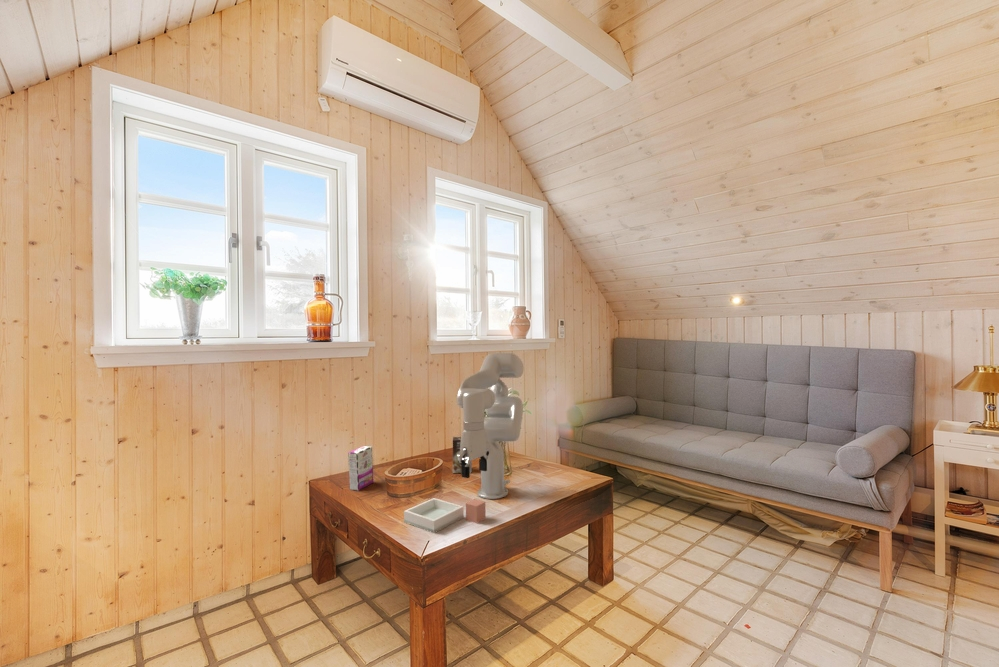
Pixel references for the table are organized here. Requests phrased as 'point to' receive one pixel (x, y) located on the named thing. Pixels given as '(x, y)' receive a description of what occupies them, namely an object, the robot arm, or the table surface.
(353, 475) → the candy bar box
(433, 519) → the tray
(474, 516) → the pink block
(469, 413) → the robot arm
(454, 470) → the coffee box
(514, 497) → the table surface
